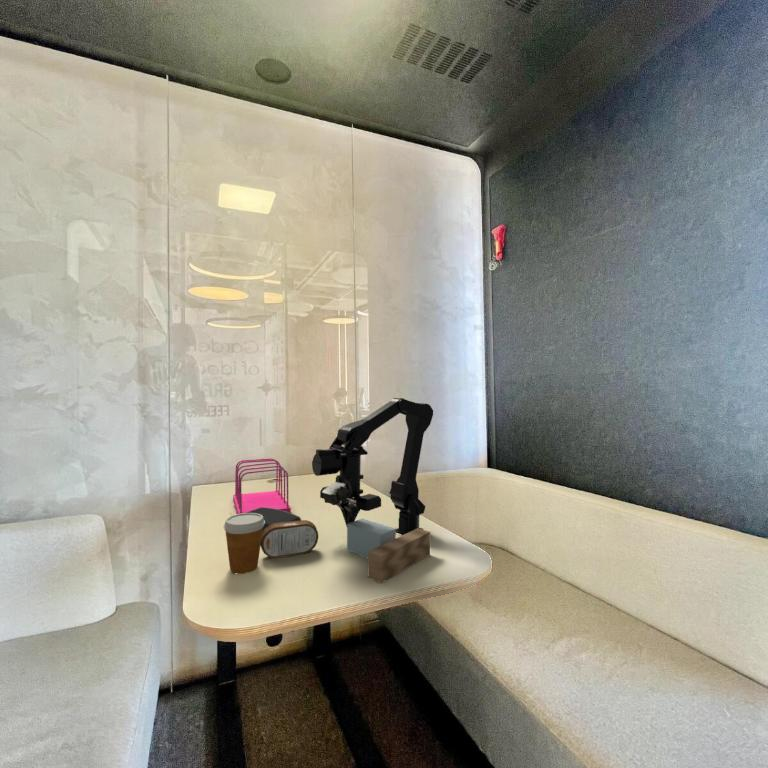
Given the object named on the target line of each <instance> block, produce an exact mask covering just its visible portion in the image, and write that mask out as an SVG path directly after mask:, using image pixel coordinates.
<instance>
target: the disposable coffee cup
mask: <svg viewBox="0 0 768 768" xmlns="http://www.w3.org/2000/svg"><path fill="white" fill-rule="evenodd" d="M264 524H265V521H264V519H263V516H262V515H261V514H257V513H242V514H237V513H236V514H233V515H230V516H229V517H227V518H226V519H225V522H224V524H223V525H222V527H223V529H224V531H225V537H226V545H227V554H228V555H227V556H228V562H229V570H230V572H231V573H232V572H233V574H236V573H237V575H243V574H248V573H252V572H254V571H255V570H256V569H258V567H259V559H260V550H261V546H260V545H261V538H262V530H263V526H264Z"/></svg>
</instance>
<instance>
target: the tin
mask: <svg viewBox="0 0 768 768" xmlns="http://www.w3.org/2000/svg"><path fill="white" fill-rule="evenodd" d="M318 541H319V531H318V529H317V527H316V525H315V524H314V523H313V522H312V521H310V520H306V519H305V520H304V519H301V521H292V522H282V523H274V524H271V525H269V526H268V527H267V528H265V529H264V531H263V532H262V538H261V545H260V550H262V552H263V554H264V555H265V556H267V557H269V558H272V559H273V558H274V559H278V558H283V557H291V556H298V555H304V554H308V553H309V552H311V551H312V550H314V548H315V547H316V546H317V544H318Z"/></svg>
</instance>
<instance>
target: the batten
mask: <svg viewBox="0 0 768 768" xmlns="http://www.w3.org/2000/svg"><path fill="white" fill-rule="evenodd" d="M419 528H420V527H419ZM419 528H417V529H415V530H413V531H411V532H409V533H406V534H403V535H401V536H398V537H396V539H394V540H392V541H390V542H388V543H385V544H383V545H381V546H379V547H377V548H375V549H373V550H371V551H369V552H368V558H367V562H368V563H367V565H368V566H367V578H368V579H371V580H373V581H375V582H378V583H379V584H383V583H384V582H386V581H387V580H389V579H391V578H392V577H395V576H396V575H398V574H399V573H401V572H403V571H405V570H406V569H408V568H409V567H412V566H413V565H414V564H416V563H418V562H420V561H421V560H423V559H425V558H427V557H428V556H430V554H431V531H428V530H425V529H423V528H422V529H423V530H422V529H419Z"/></svg>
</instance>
